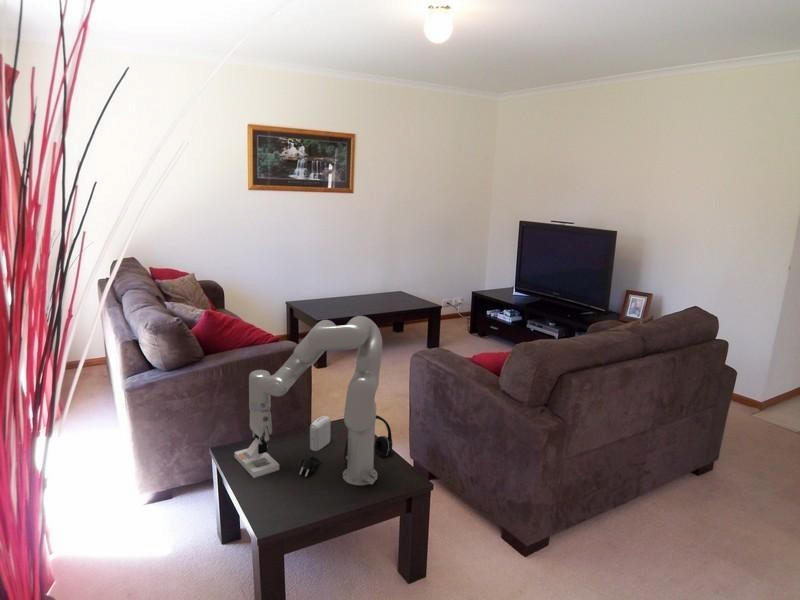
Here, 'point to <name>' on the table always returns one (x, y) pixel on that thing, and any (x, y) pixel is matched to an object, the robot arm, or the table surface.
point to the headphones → (378, 443)
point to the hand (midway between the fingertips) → (260, 449)
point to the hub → (256, 463)
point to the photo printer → (319, 433)
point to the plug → (254, 449)
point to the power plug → (308, 463)
